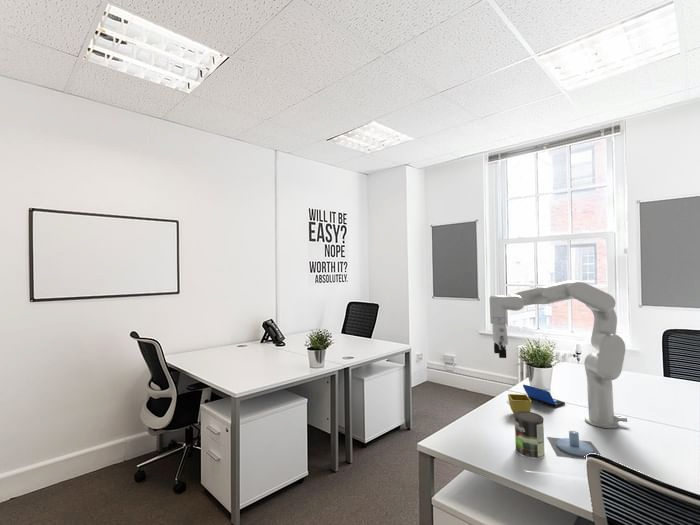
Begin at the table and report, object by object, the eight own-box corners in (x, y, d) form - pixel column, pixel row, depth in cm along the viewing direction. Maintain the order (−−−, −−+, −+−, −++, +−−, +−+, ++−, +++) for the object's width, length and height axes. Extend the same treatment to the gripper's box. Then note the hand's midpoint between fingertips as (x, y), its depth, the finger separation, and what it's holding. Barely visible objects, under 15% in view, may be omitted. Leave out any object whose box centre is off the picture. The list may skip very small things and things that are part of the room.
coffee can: (525, 460, 130) (523, 422, 130) (510, 447, 140) (508, 411, 141) (551, 458, 131) (549, 420, 131) (534, 445, 141) (533, 410, 141)
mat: (590, 442, 142) (590, 441, 142) (606, 462, 127) (606, 461, 127) (546, 437, 147) (546, 436, 147) (557, 457, 132) (556, 456, 132)
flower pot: (532, 420, 165) (531, 400, 165) (513, 419, 167) (512, 400, 167) (527, 412, 173) (526, 394, 174) (508, 411, 175) (507, 393, 175)
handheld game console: (566, 405, 182) (565, 387, 183) (550, 410, 176) (549, 391, 177) (538, 396, 196) (537, 379, 197) (522, 400, 190) (521, 383, 191)
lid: (586, 443, 141) (586, 427, 141) (598, 458, 129) (597, 441, 130) (553, 439, 144) (552, 424, 145) (561, 454, 133) (560, 437, 133)
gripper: (511, 322, 162) (513, 359, 161) (502, 318, 179) (503, 351, 178) (494, 322, 163) (496, 359, 163) (486, 318, 180) (488, 351, 180)
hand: (500, 355), depth 170 cm, fingers open, 9 cm apart
